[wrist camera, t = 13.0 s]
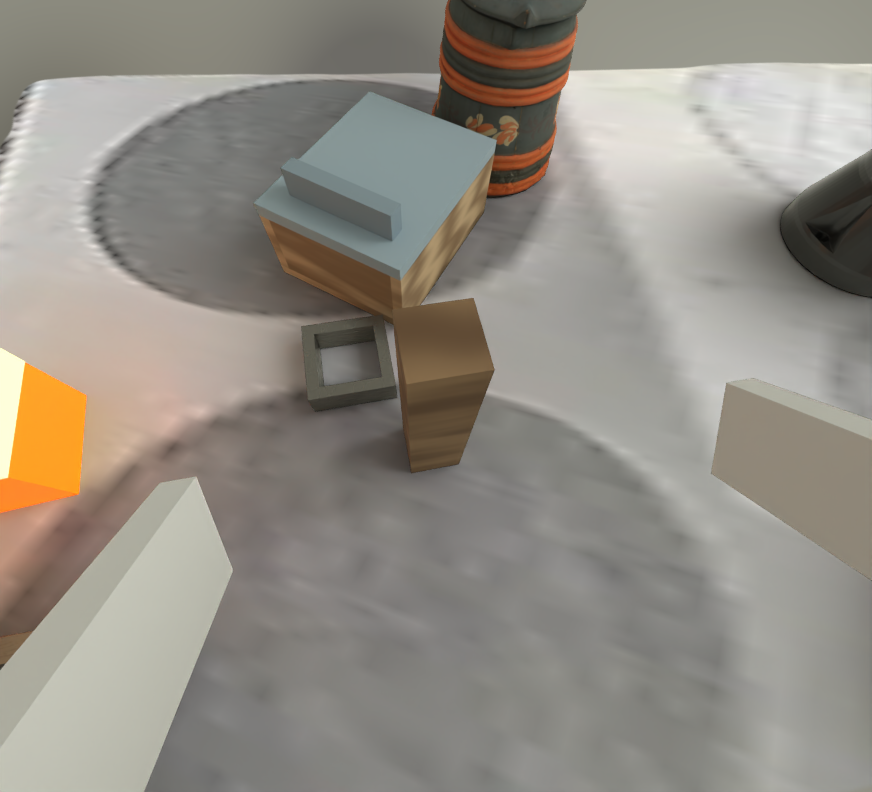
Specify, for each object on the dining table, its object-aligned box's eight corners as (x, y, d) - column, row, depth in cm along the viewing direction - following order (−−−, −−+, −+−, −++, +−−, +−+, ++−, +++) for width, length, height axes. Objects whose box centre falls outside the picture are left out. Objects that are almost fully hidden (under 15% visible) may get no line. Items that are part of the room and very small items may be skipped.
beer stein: (427, 95, 54) (433, -151, 36) (536, 100, 54) (596, -140, 36) (428, 197, 46) (435, -50, 28) (554, 200, 47) (642, -39, 28)
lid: (370, 104, 41) (366, 62, 38) (494, 152, 39) (501, 112, 36) (258, 214, 34) (241, 175, 31) (400, 280, 32) (398, 246, 29)
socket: (308, 341, 38) (301, 326, 35) (384, 329, 39) (382, 314, 36) (314, 411, 35) (307, 400, 33) (397, 397, 36) (395, 385, 33)
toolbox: (377, 167, 48) (371, 104, 41) (483, 212, 45) (494, 153, 39) (284, 271, 41) (259, 215, 34) (403, 329, 39) (400, 281, 32)
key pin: (403, 428, 35) (392, 309, 19) (448, 419, 35) (473, 298, 20) (411, 473, 33) (406, 384, 18) (458, 464, 34) (494, 369, 18)
